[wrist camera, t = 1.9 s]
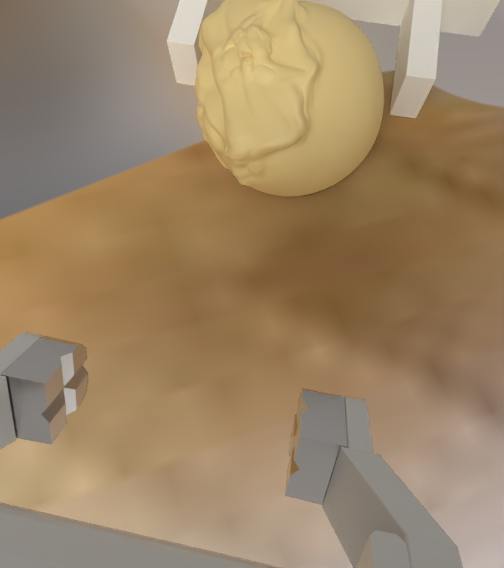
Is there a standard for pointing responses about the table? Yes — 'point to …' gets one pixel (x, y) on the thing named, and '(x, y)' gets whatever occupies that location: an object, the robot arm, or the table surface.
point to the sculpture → (287, 94)
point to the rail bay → (370, 8)
